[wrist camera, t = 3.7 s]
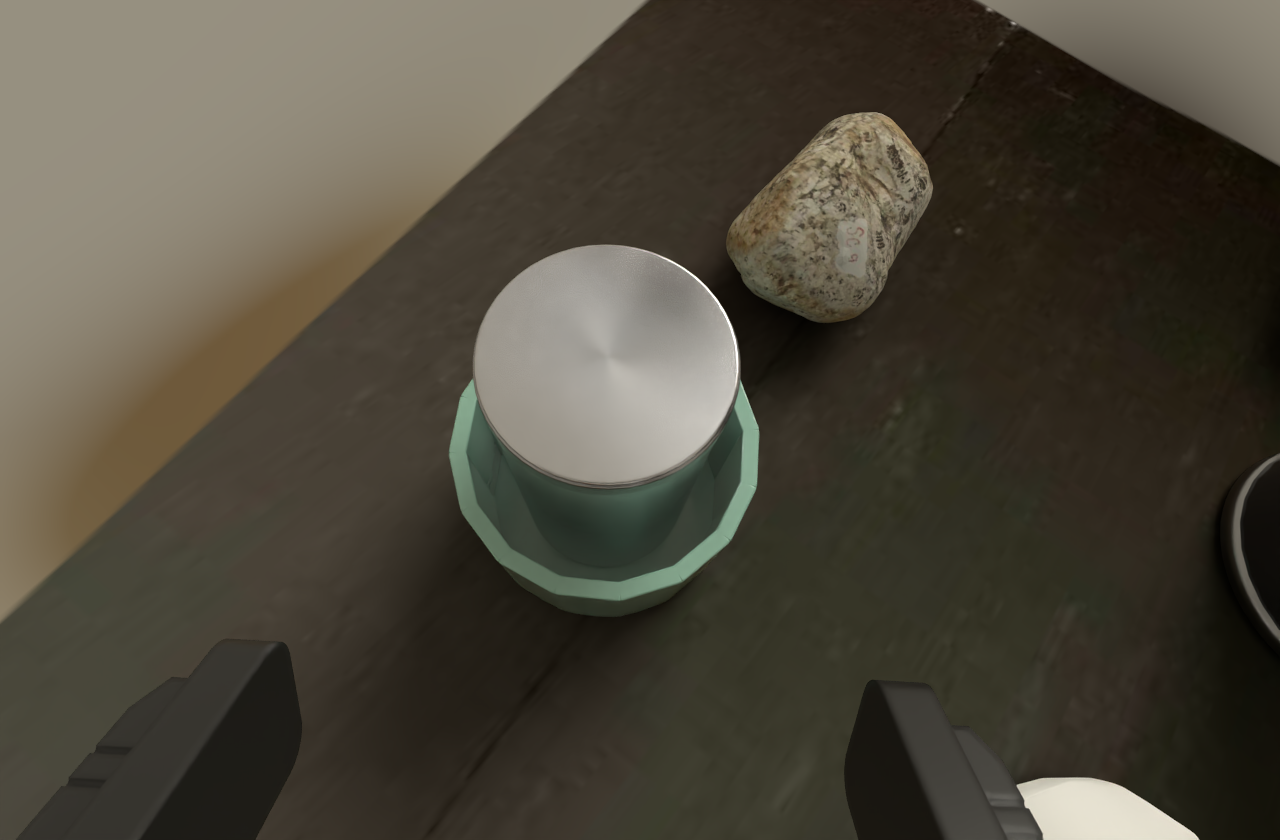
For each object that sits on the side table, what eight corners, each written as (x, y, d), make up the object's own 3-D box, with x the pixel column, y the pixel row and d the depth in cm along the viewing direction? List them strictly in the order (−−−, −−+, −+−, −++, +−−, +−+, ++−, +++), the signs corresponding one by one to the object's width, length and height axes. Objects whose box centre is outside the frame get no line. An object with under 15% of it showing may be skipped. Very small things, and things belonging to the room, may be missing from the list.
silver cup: (618, 386, 26) (628, 199, 16) (716, 501, 25) (797, 377, 14) (494, 476, 25) (417, 334, 14) (591, 603, 23) (583, 546, 13)
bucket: (624, 342, 27) (629, 257, 22) (772, 511, 25) (821, 465, 20) (437, 474, 25) (390, 417, 20) (584, 671, 23) (578, 670, 17)
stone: (694, 279, 29) (706, 208, 24) (833, 148, 31) (870, 60, 26) (808, 376, 28) (845, 322, 23) (945, 234, 30) (1005, 157, 25)
